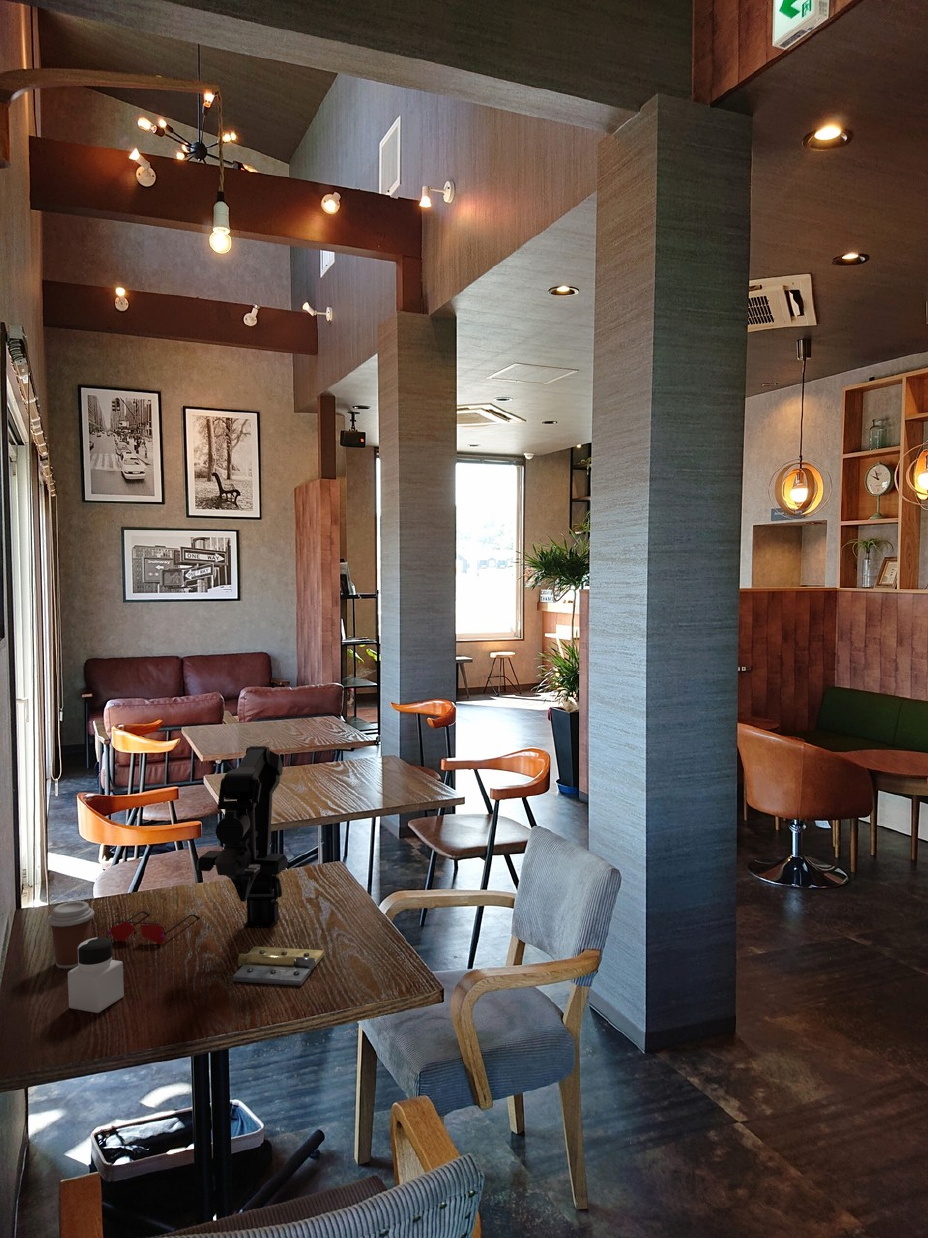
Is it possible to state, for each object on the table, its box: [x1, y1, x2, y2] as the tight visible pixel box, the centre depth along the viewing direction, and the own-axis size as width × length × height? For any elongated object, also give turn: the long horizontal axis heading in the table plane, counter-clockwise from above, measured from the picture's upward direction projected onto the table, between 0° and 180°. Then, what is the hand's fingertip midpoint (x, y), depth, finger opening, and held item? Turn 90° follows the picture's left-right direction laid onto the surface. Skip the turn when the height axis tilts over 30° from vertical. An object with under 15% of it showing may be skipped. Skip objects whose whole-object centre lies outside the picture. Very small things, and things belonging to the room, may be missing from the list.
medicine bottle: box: [67, 936, 125, 1014], centre depth 166 cm, size 7×7×12 cm
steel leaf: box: [232, 957, 315, 987], centre depth 177 cm, size 14×8×2 cm, turn 80°
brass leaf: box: [237, 946, 325, 968], centre depth 183 cm, size 16×8×2 cm, turn 80°
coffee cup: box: [47, 900, 95, 970], centre depth 184 cm, size 9×9×12 cm
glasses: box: [108, 910, 201, 945], centre depth 201 cm, size 14×16×5 cm
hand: (243, 901), depth 186 cm, fingers closed
